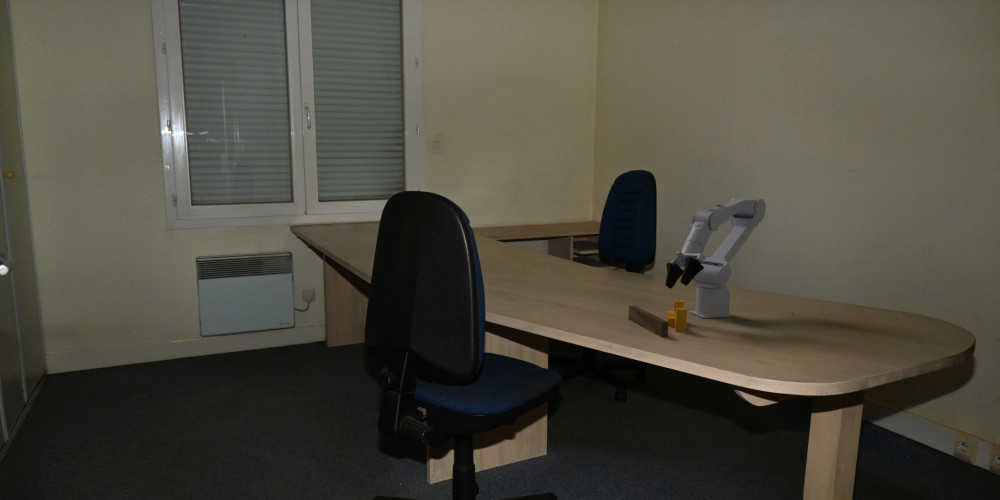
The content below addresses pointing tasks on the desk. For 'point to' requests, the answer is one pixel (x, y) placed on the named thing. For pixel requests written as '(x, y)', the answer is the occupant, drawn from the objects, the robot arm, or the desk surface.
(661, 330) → the rail
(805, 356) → the desk surface
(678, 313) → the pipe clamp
